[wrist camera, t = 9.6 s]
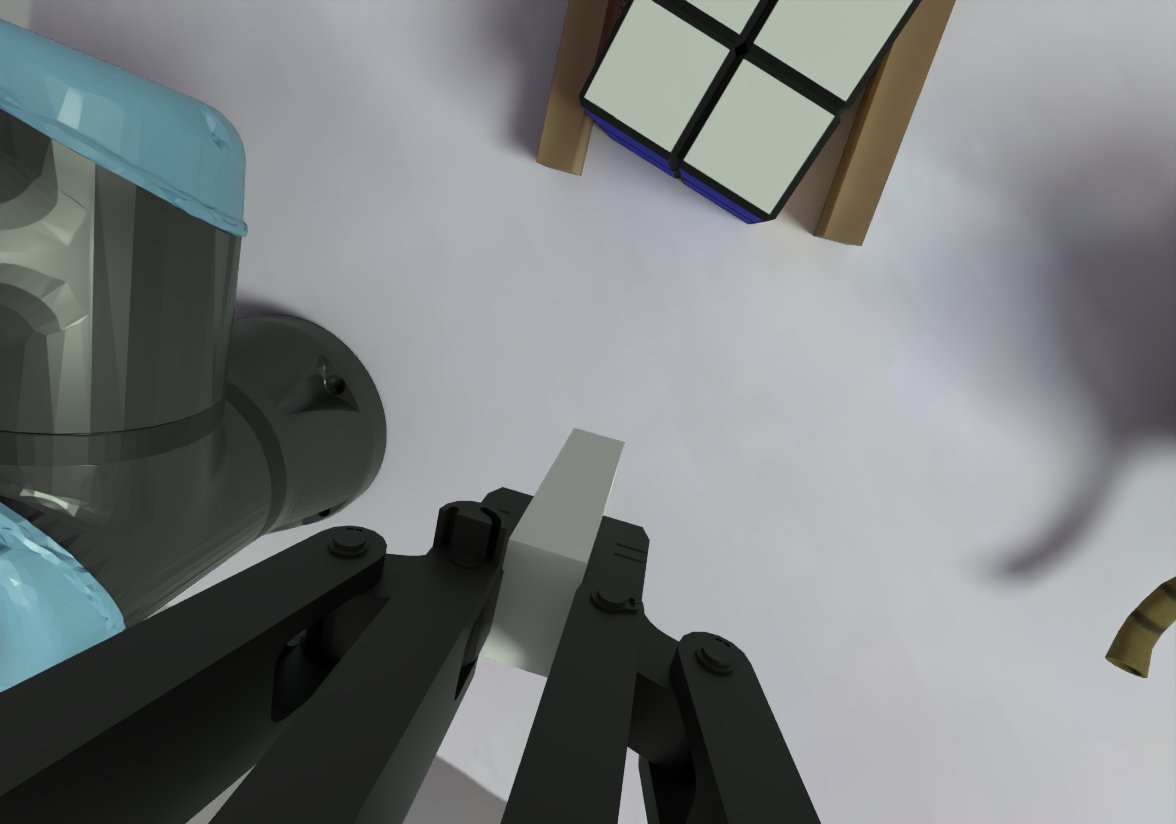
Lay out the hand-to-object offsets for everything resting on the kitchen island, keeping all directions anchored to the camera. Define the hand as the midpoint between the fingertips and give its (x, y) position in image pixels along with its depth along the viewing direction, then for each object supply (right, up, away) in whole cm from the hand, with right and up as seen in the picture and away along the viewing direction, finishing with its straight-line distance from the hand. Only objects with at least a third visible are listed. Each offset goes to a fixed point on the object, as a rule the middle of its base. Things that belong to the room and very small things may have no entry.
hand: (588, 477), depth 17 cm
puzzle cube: (+8, +19, +16) cm, 26 cm away
